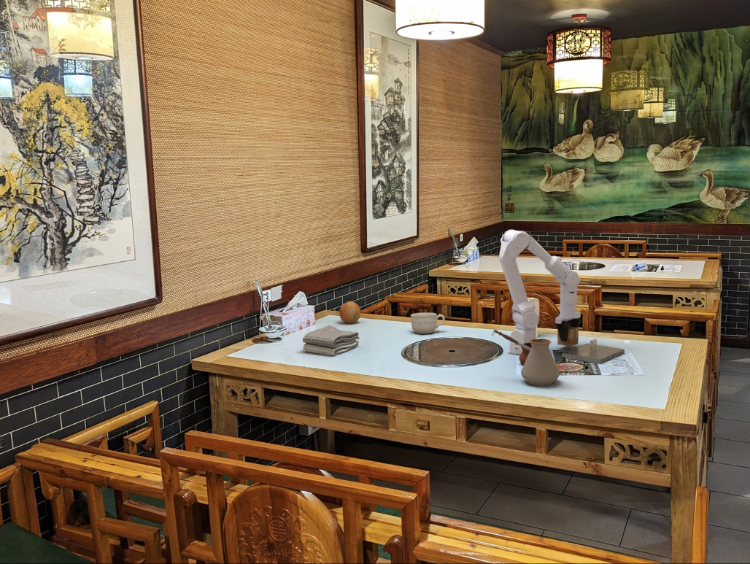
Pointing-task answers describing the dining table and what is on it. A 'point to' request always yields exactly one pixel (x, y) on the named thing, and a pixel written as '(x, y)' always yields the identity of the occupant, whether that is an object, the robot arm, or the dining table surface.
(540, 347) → the coffee pot
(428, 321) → the teacup
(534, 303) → the beer glass
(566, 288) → the robot arm
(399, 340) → the dining table surface
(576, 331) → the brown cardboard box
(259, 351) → the dining table surface
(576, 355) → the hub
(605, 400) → the dining table surface
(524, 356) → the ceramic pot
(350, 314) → the onion
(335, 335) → the towel
